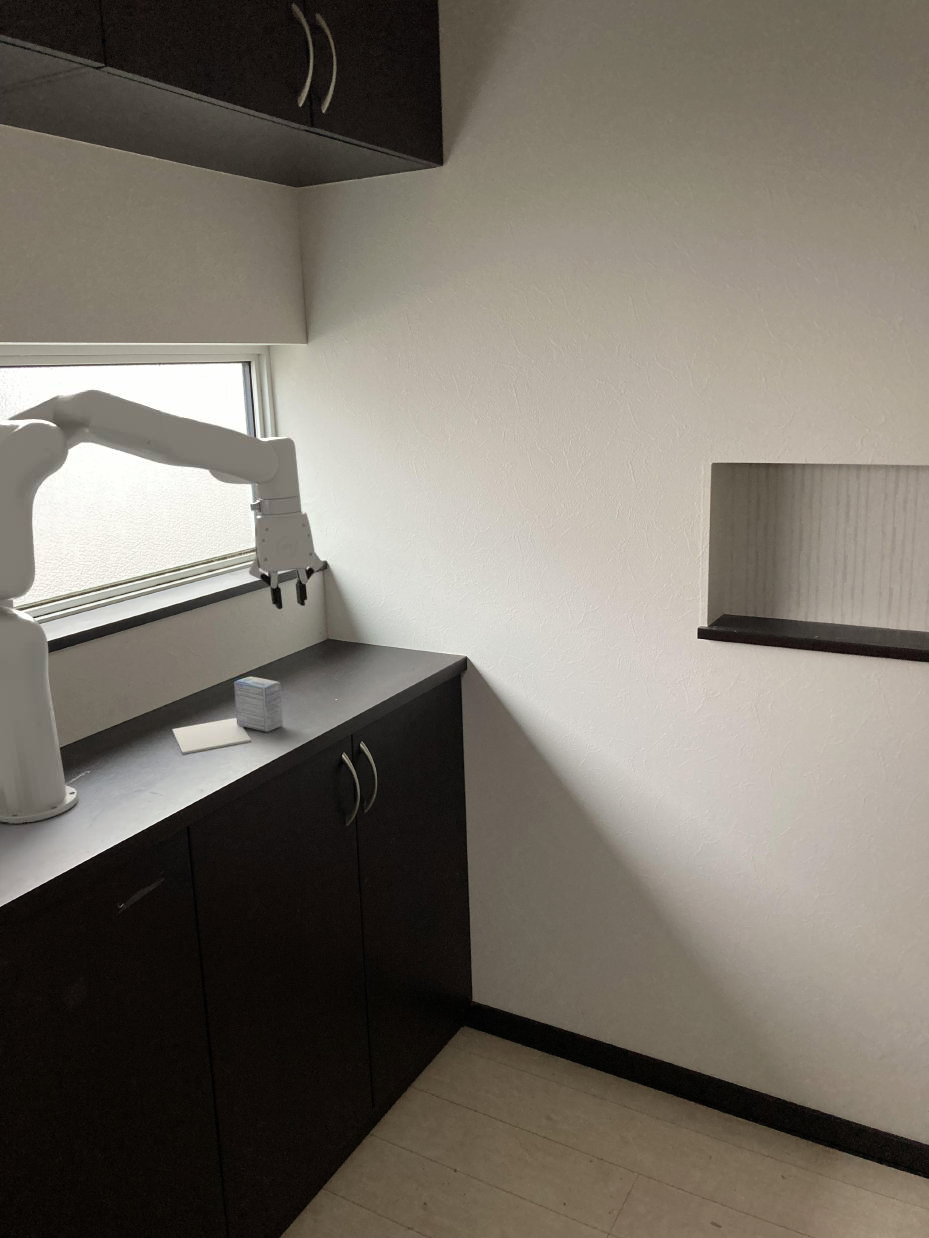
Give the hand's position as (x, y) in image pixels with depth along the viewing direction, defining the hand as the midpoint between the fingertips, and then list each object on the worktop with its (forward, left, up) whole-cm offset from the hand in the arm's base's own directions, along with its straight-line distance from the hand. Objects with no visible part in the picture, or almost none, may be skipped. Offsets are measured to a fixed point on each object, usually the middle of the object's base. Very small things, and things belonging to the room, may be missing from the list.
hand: (290, 605), depth 188 cm
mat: (-17, 0, -22) cm, 28 cm away
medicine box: (-8, 0, -22) cm, 24 cm away
